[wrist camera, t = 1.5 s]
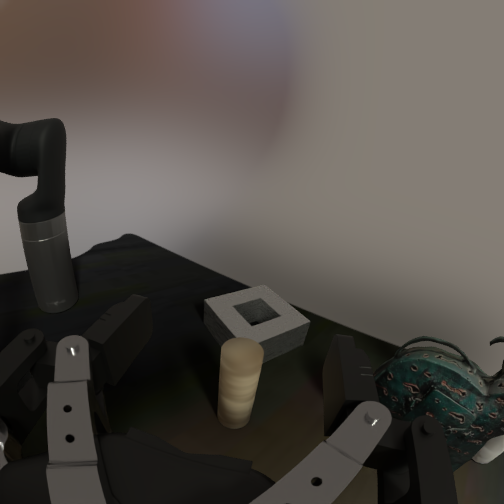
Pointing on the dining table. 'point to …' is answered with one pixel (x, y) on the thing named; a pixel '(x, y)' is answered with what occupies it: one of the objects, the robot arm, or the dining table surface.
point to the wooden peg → (238, 380)
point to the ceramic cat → (444, 395)
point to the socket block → (256, 309)
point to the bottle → (490, 450)
